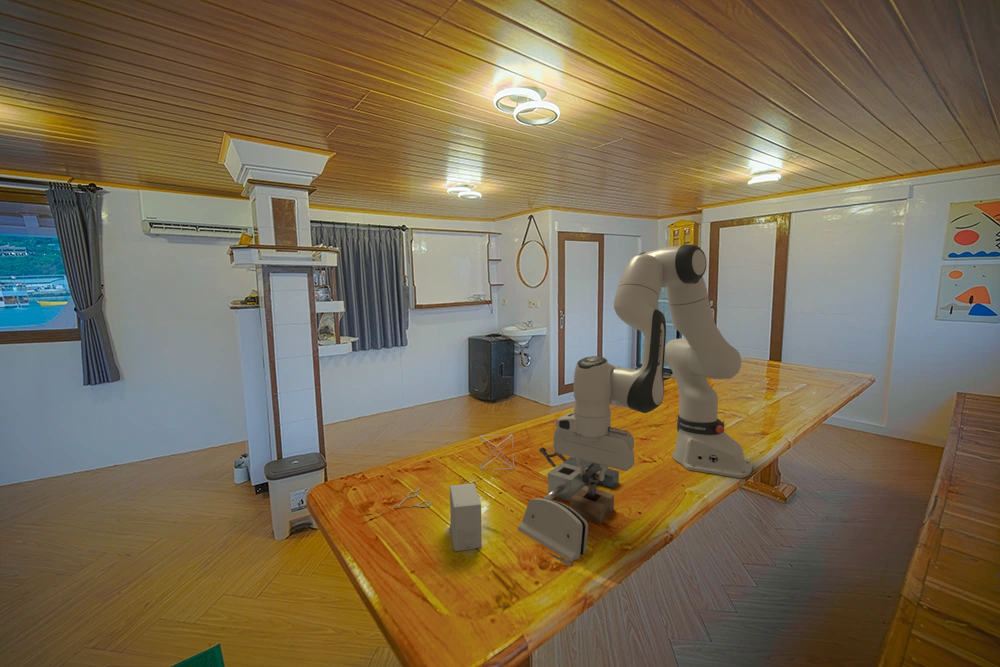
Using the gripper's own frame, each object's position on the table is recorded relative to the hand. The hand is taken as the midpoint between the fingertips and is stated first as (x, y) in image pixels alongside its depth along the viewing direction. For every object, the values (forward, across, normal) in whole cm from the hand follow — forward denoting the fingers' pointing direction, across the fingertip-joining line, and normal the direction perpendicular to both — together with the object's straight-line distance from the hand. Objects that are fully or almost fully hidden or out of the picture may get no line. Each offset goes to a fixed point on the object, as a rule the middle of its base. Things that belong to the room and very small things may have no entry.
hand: (592, 477), depth 102 cm
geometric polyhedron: (+10, +38, -9) cm, 40 cm away
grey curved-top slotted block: (+10, +2, +15) cm, 18 cm away
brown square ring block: (+10, 0, 0) cm, 10 cm away
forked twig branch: (+11, +21, -23) cm, 33 cm away
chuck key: (+9, 0, 0) cm, 9 cm away
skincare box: (+10, +20, +25) cm, 34 cm away
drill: (+10, +7, -7) cm, 14 cm away
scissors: (+11, +44, +27) cm, 53 cm away
